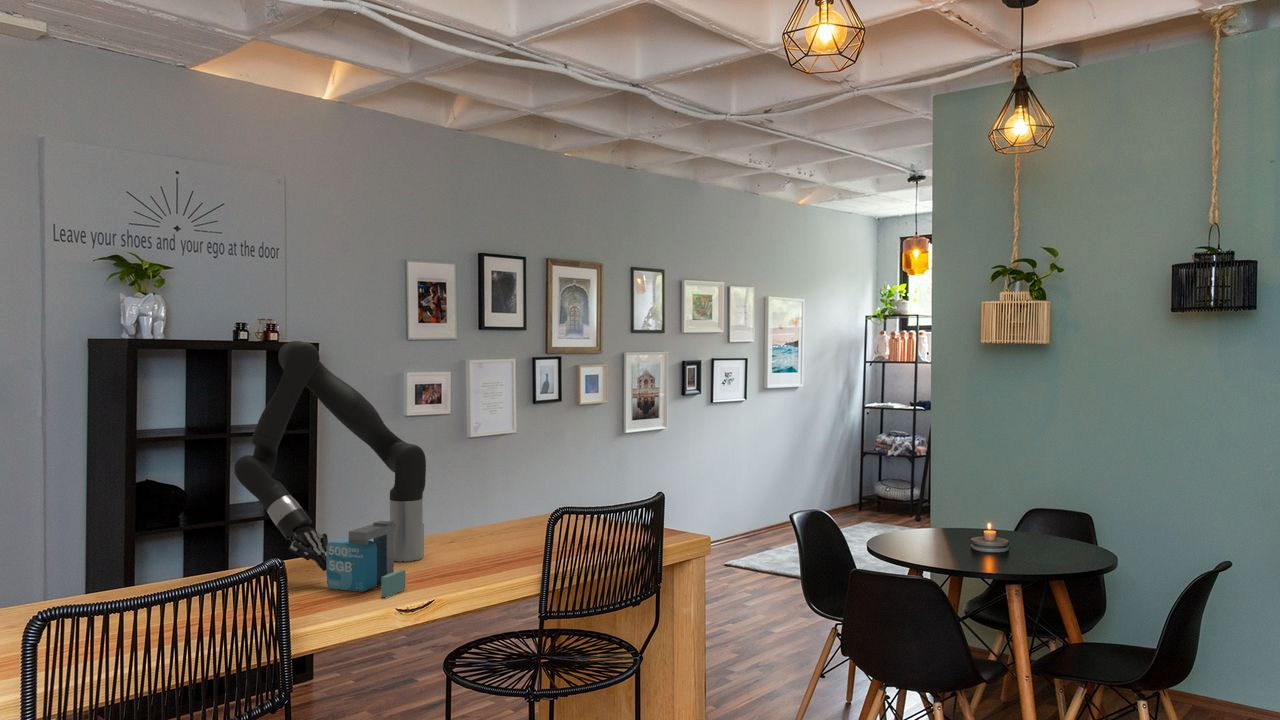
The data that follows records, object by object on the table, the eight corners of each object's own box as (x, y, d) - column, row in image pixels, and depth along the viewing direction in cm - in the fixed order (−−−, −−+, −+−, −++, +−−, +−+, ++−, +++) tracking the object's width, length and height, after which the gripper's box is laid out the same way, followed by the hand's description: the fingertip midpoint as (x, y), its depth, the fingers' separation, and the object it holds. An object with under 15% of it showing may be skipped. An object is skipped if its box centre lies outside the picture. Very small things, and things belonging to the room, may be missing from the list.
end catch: (400, 589, 236) (400, 569, 236) (405, 589, 235) (405, 570, 235) (381, 597, 228) (381, 576, 228) (386, 597, 228) (386, 577, 228)
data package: (326, 588, 236) (325, 541, 236) (337, 584, 241) (337, 537, 240) (366, 592, 232) (366, 544, 232) (377, 588, 237) (377, 541, 236)
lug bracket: (380, 579, 245) (380, 519, 245) (403, 582, 243) (403, 520, 243) (345, 593, 232) (345, 529, 231) (369, 596, 229) (369, 531, 229)
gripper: (279, 511, 235) (319, 564, 231) (314, 503, 247) (353, 553, 243) (262, 531, 237) (302, 584, 233) (298, 522, 249) (336, 572, 245)
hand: (328, 568), depth 238 cm, fingers closed
